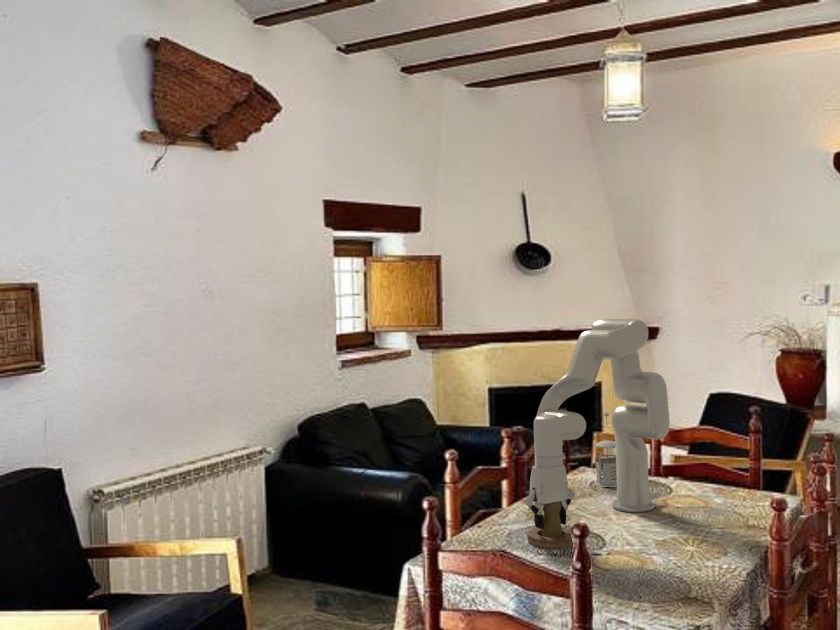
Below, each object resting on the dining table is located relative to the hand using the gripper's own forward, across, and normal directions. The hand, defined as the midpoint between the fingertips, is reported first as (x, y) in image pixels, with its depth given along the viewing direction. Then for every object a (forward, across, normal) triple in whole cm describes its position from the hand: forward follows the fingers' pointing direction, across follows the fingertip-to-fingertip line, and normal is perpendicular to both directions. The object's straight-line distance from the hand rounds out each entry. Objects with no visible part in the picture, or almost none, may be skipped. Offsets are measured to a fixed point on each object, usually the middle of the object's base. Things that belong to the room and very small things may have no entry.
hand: (550, 525), depth 225 cm
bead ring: (+4, 0, 0) cm, 4 cm away
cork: (+4, 0, 0) cm, 4 cm away
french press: (+4, -51, -39) cm, 64 cm away
